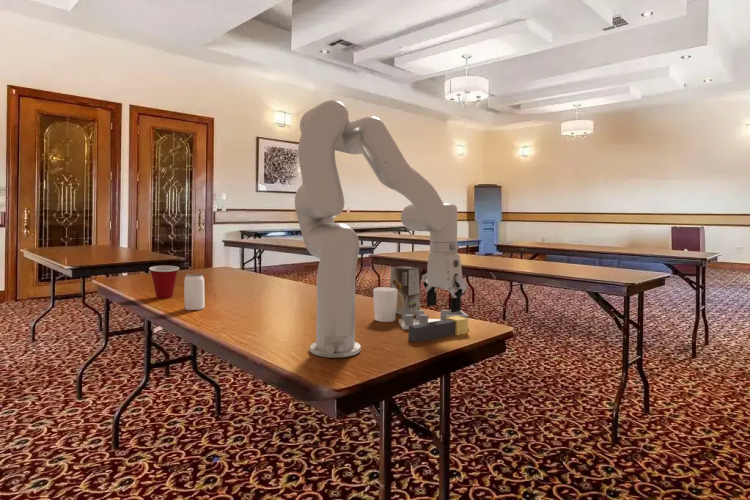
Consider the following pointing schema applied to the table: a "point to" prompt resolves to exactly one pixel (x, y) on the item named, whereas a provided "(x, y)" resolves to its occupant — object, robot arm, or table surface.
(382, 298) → the white cup
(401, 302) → the coffee box
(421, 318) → the clip rail
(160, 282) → the plastic cup
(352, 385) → the table surface
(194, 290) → the can
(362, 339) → the table surface
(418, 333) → the gray box yellow end
